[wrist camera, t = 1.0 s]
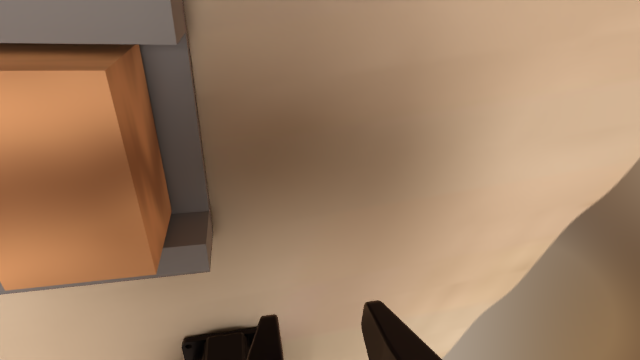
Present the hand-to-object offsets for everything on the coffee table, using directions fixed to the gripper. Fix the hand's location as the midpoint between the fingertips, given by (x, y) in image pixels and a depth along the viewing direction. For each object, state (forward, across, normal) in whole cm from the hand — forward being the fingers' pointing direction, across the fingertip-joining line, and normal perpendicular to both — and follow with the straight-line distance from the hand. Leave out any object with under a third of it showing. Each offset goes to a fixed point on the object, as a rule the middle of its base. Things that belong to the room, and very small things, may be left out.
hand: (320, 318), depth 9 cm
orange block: (+13, +9, 0) cm, 16 cm away
